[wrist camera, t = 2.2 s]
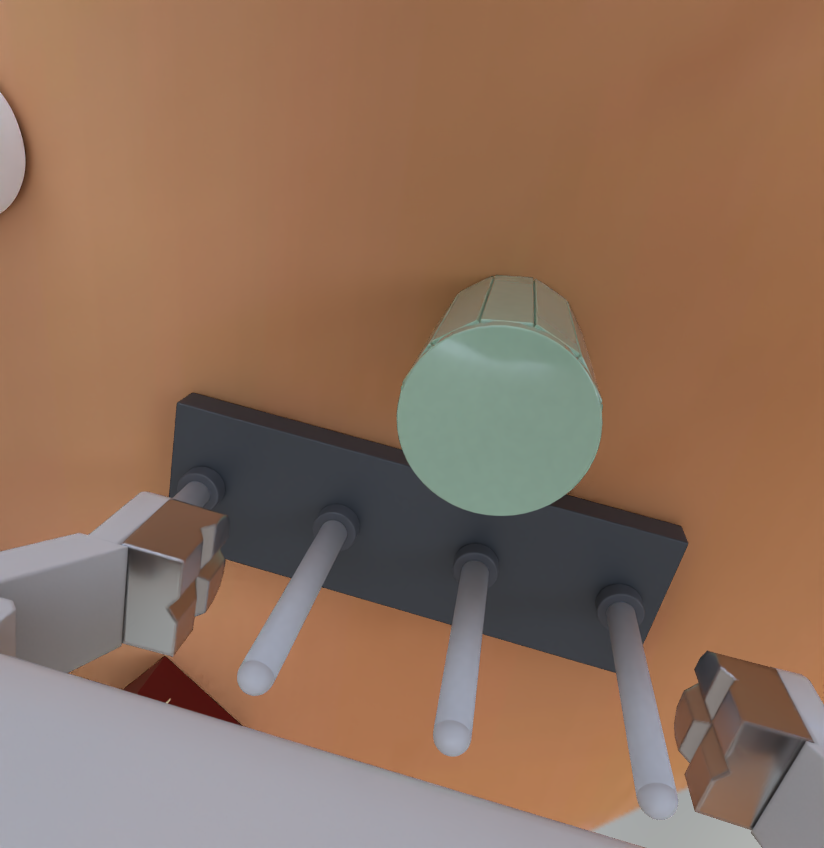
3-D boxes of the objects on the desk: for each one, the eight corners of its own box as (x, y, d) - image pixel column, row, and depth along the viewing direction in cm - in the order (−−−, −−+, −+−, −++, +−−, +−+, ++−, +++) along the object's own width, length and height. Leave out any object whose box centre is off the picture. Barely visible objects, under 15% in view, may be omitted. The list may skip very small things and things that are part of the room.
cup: (545, 249, 26) (551, 288, 18) (603, 382, 28) (634, 475, 19) (411, 314, 28) (361, 377, 20) (473, 436, 29) (450, 542, 21)
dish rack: (681, 525, 29) (772, 742, 18) (624, 655, 32) (672, 910, 21) (192, 391, 31) (4, 516, 20) (179, 526, 34) (9, 700, 23)
